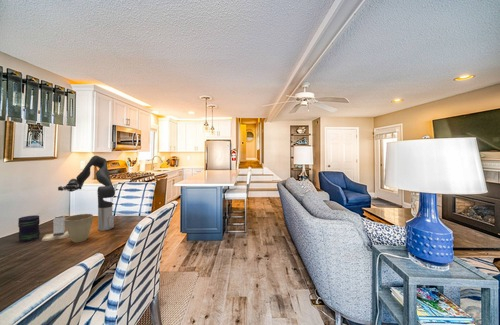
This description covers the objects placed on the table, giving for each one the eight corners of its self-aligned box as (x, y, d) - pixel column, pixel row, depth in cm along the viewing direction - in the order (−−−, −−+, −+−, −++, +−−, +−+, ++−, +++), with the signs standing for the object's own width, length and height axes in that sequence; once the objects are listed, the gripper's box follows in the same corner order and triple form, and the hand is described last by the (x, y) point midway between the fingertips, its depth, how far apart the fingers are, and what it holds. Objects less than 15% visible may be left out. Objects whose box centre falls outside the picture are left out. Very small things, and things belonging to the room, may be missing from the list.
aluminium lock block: (65, 232, 150) (65, 215, 149) (63, 235, 145) (63, 217, 144) (55, 233, 147) (55, 216, 147) (53, 236, 142) (53, 218, 141)
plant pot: (75, 236, 147) (75, 213, 146) (98, 235, 148) (98, 213, 148) (58, 245, 132) (58, 220, 132) (83, 245, 133) (83, 220, 133)
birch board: (75, 232, 154) (75, 230, 154) (73, 236, 146) (73, 234, 146) (46, 236, 146) (46, 234, 146) (41, 241, 137) (41, 239, 137)
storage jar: (24, 237, 143) (23, 216, 143) (43, 235, 147) (42, 214, 146) (14, 243, 134) (14, 220, 133) (34, 241, 137) (34, 218, 137)
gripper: (61, 182, 173) (56, 184, 160) (83, 181, 181) (80, 183, 167) (61, 191, 174) (56, 194, 160) (83, 190, 181) (80, 193, 168)
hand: (68, 189), depth 164 cm, fingers open, 8 cm apart
